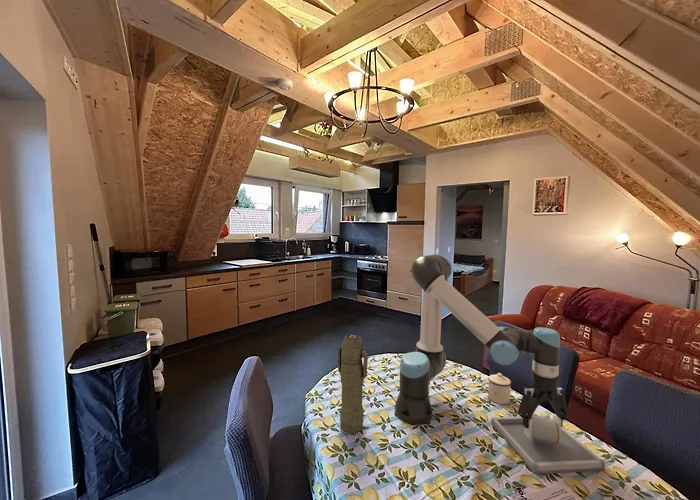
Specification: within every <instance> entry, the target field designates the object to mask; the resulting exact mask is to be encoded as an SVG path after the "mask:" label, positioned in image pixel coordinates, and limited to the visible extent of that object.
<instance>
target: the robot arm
mask: <svg viewBox="0 0 700 500" xmlns="http://www.w3.org/2000/svg"><path fill="white" fill-rule="evenodd" d="M452 271H453V266H452V263H451V262H450V260H449V259H448V258H447V257H446V256H444V255H442V254H430V255H421V256H419V257H417V258H416V259H414V260H413V262H412V265H411V269H410V272H411V276H412V278H413V280H414V281H415V282H416V284H417V285H418V286H419V287H420V288H421V289H422V297H421V298H422V299H421V318H420V319H421V321H420V336H419V341H417V342H416V344H415V345H416V346H415V351H412V352H409V351H408V352H407V353H404V354H403V355H402V356H401V358H400V363H399V394H398V396H397V398H396V401H395V404H394V413H395V415H396V416H397V417H398V418H399V419H400V420H401V421H403V422H405V423H408V424H411V425H417V426H418V425H426V424H428V423H429V422H431V421H432V419H433V416H434V413H433V411H434V410H433V406H432V404H431V400H430V397H429V396H430V394H429V391H430V390H429V389H430V388H429V387H430V382H431V381H432V380H433V379H434V378H436V377H437V376H438V375H439V374H440V373H442V371H443V370H444V368H445V367H446V364H447V357H446V354H445V352H444V346H443V345H442V344H441V332H442V317H443V314H442V313H443V307H444V308H445V309H447V310H448V311H449V313H451V314H452V315H453V316H454V317H455V318H456V319H457V320H458V321H459V322H460V323H462V325H464V327H466V329H468V331H469V332H470V333H472V334H473V335H474V336H475V337H476V338H477V339H479V341H480V342H482V344H483V345H484V346H485V347H487V349H489V353H490V355H491V358H492V360H494V362H495V363H497V364H499V365H501V366H509V365H511V364H513V363H514V362H515V361H517V360H518V357H519V355H520V353H525V354H530V355H532V362H531V363H532V364H531V366H532V367H531V368H532V371H531V382H532V386H531V388H527V387H523V388H522V390H523V391H522V392H523V393H522V397H521V401H520V403H519V406H518V410H517V414H518V416H519V417H522V418H523V426H524V434H525V435H526V436H527V437H528V438H529V439H532V420H531V417H532V415H534V413H535V411H536V410H537V408H538V406H539V405H541V404H542V403H543V402H549V404H550V405H551V407H552V409H553V411H554V413H555V414H553V415H552V419H553V421H555V422H556V423H557V424H558V427H559V432H560V438H561V427H564V426H563V423H564V421H566V420H567V418H569V416H570V414H569V408H568V404H567V400H566V390H565V389H563V388H562V387H560V386H559V377H558V376H559V371H560V370H559V369H560V354H561V353H560V352H561V336H560V335H561V334H560V333H559V332H558V331H557V330H555V329H552V328H549V327H542V326H541V327H539V326H538V327H535V328H534V329H533V331H526V330H521V329H517V328H511V327H508V326H497V325H496V324H495V323H494V322H493V320H491V319H489V317H488V316H486V315H485V314H484V313H483V312H482V311H480V310H479V309H478V308H477V307H476V306H475V305H474V304H473V303H471V301H469V300H468V299H467V298H466V297H465V296H464V295H463V294H462V293H461V292H459V291H458V290H457V289H456V288H455V287H454V286H453V285H452V284H450V283H449V282H448V281H449V278H450V276H451V275H452ZM555 396H556V397H555ZM556 398H557V399H556Z"/></svg>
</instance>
